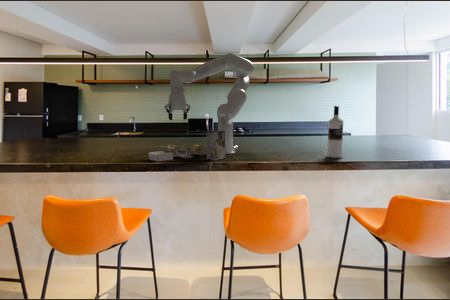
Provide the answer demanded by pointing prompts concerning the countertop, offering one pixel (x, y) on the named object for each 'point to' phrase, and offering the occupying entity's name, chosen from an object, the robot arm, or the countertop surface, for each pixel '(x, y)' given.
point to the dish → (160, 156)
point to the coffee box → (215, 145)
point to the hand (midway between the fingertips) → (178, 119)
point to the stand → (178, 154)
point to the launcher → (184, 148)
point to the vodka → (335, 135)
